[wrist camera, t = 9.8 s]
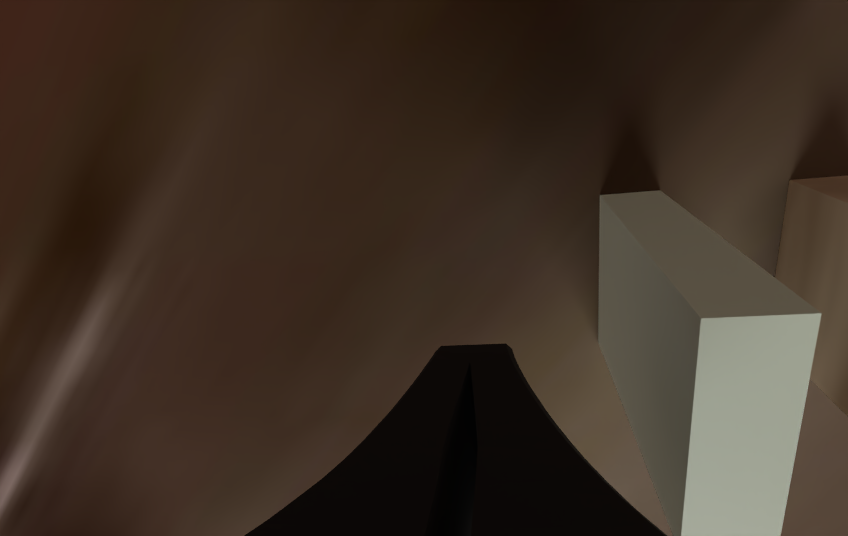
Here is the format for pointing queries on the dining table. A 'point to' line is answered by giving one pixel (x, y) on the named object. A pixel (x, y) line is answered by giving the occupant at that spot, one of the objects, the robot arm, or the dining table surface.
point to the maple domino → (820, 272)
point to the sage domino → (703, 365)
